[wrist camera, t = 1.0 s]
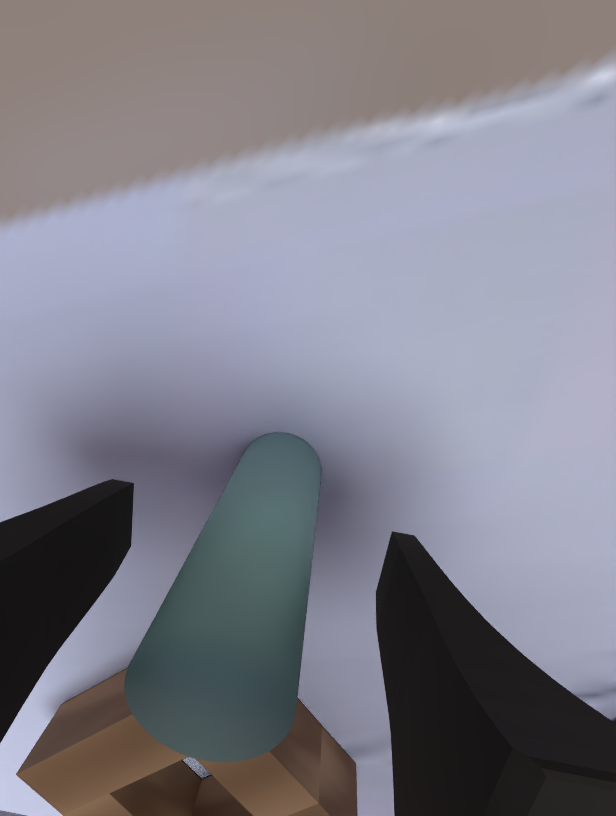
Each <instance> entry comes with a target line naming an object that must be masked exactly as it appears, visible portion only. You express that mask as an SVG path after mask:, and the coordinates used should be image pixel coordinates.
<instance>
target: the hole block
mask: <svg viewBox="0 0 616 816" xmlns="http://www.w3.org/2000/svg"><path fill="white" fill-rule="evenodd" d="M127 669H128V668H127ZM127 669H125V670H123V671H121V672H119V673H118V674H116V675H114V676H112V677H110V678H109V679H107V680H105V681H103V682H101V683H100V684H98V685H96V686H94V687H92V688H90V689H89V690H87V691H85V692H83V693H81V694H80V695H78V696H76V697H74V698H72V699H71V700H69V701H67V702H65V703H63V704H62V705H61V706H60V707H59V709H58V710H57V712H56V713H55V715H54V716H53V718H52V720H51V721H50V723H49V724H48V726H47V727H46V729H45V730H44V732H43V733H42V735H41V736H40V738H39V740H38V741H37V743H36V744H35V746H34V747H33V749H32V750H31V752H30V753H29V755H28V757H27V758H26V760H25V761H24V763H23V764H22V766H21V767H20V769H19V770H18V772H17V773H16V775H17V776H18V777H19V778H20V779H22V780H23V781H24V782H25V783H26V784H27V785H29V786H30V787H31V788H32V789H33V790H34V791H35V792H37V793H38V794H39V795H40V796H41V797H42V798H44V799H45V800H46V801H47V802H48V803H49V804H50V805H52V806H53V807H54V808H55V809H56V810H57V811H59V812H60V813H61V814H62V815H63V816H357V780H356V763H355V762H354V761H353V760H352V759H351V758H350V757H349V756H348V755H347V753H346V752H345V751H344V750H343V749H342V748H341V747H340V746H339V744H338V743H337V742H336V741H335V740H334V739H333V738H332V737H331V736H330V734H329V733H328V732H327V731H326V730H325V729H324V728H323V727H322V725H321V724H320V723H319V722H318V721H317V720H316V719H315V718H314V716H313V715H312V714H311V713H310V712H309V711H308V710H307V709H306V708H305V706H304V705H303V704H302V703H301V702H300V701H299V700H298V699H297V705H296V713H295V719H294V722H293V725H292V727H291V729H290V731H289V733H288V734H287V736H286V737H285V738H284V740H282V741H281V742H280V743H279V744H278V745H277V746H276V747H274V748H273V749H272V750H270V751H268V752H266V753H264V754H263V755H260V756H257V757H255V758H252V759H248V760H243V761H236V762H211V761H205V760H200V759H196V758H195V759H196V760H197V761H198V762H199V763H200V764H201V765H202V766H203V767H204V768H205V769H206V770H207V771H208V772H209V773H210V774H211V776H209V777H207V778H204V779H202V780H201V779H200V778H199V777H198V776H197V775H196V774H195V773H194V772H193V771H192V770H191V769H190V768H189V767H188V766H187V765H186V764H185V763H184V762H183V761H182V759H185V758H187V757H189V756H186V755H183V754H180V753H178V752H176V751H174V750H172V749H170V748H168V747H166V746H164V745H163V744H161V743H160V742H158V741H157V740H156V739H154V738H153V737H152V736H151V735H150V734H148V733H147V732H146V731H145V730H144V729H143V728H142V726H141V725H140V724H139V723H138V722H137V720H136V719H135V717H134V716H133V714H132V712H131V710H130V708H129V706H128V703H127V700H126V696H125V687H124V682H125V675H126V672H127Z"/></svg>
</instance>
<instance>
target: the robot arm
mask: <svg viewBox="0 0 616 816" xmlns="http://www.w3.org/2000/svg"><path fill="white" fill-rule="evenodd" d="M133 490H134V483H130V482H124V481H119V480H114V479H112V480H108V481H105V482H102V483H100V484H97V485H95V486H92V487H90V488H87V489H85V490H82V491H80V492H77V493H75V494H73V495H70V496H68V497H65V498H63V499H60V500H58V501H56V502H53V503H51V504H48V505H46V506H43V507H41V508H38V509H35V510H33V511H30V512H27V513H24V514H22V515H19V516H16V517H14V518H11V519H8V520H5V521H3V522H0V743H1V741H2V740H3V738H4V736H5V734H6V733H7V731H8V729H9V728H10V726H11V724H12V723H13V721H14V719H15V718H16V716H17V714H18V712H19V711H20V709H21V707H22V706H23V704H24V703H25V701H26V699H27V698H28V696H29V695H30V693H31V691H32V690H33V688H34V686H35V685H36V683H37V682H38V680H39V678H40V677H41V675H42V674H43V672H44V670H45V669H46V667H47V666H48V664H49V663H50V661H51V660H52V659H53V657H54V656H55V654H56V653H57V651H58V650H59V649H60V647H61V646H62V645H63V643H64V642H65V641H66V639H67V638H68V637H69V636H70V634H71V633H72V632H73V630H74V629H75V628H76V626H77V625H78V624H79V622H80V621H81V620H82V618H83V617H84V616H85V614H86V613H87V612H88V611H89V609H90V608H91V607H92V605H93V604H94V603H95V601H96V600H97V599H98V597H99V596H100V595H101V593H102V592H103V591H104V589H105V588H106V587H107V585H108V584H109V582H110V581H111V580H112V578H113V577H114V575H115V573H116V572H117V570H118V568H119V567H120V565H121V563H122V561H123V560H124V558H125V556H126V554H127V552H128V550H129V549H130V547H131V535H132V512H133ZM376 624H377V635H378V642H379V649H380V657H381V664H382V670H383V677H384V684H385V691H386V698H387V705H388V712H389V721H390V730H391V745H392V764H393V785H394V812H395V816H616V724H615V723H614V722H612V721H611V720H609V719H608V718H606V717H605V716H604V715H602V714H601V713H599V712H598V711H596V710H595V709H593V708H592V707H591V706H589V705H588V704H586V703H585V702H583V701H582V700H581V699H579V698H578V697H576V696H575V695H574V694H572V693H571V692H570V691H568V690H567V689H566V688H564V687H563V686H562V685H560V684H559V683H558V682H556V681H555V680H554V679H552V678H551V677H550V676H549V675H547V674H546V673H545V672H544V671H543V670H541V669H540V668H539V667H538V666H536V665H535V664H534V663H533V662H531V661H530V660H529V659H528V658H527V657H525V656H524V655H523V654H522V653H521V652H520V651H518V650H517V649H516V648H515V647H514V646H513V645H512V644H511V643H510V642H509V641H507V640H506V639H505V638H504V637H503V636H502V635H501V634H500V633H499V632H498V631H497V630H496V629H495V628H493V627H492V626H491V625H490V624H489V623H488V622H487V621H486V620H485V619H484V618H483V616H482V615H481V614H480V613H479V612H478V611H477V610H476V609H475V608H474V607H473V606H472V605H471V604H470V603H469V601H468V600H467V599H466V598H465V597H464V596H463V595H462V594H461V593H460V591H459V590H458V589H457V588H456V587H455V586H454V584H453V583H452V582H451V581H450V580H449V578H448V577H447V576H446V575H445V574H444V572H443V571H442V570H441V569H440V567H439V566H438V565H437V564H436V562H435V561H434V560H433V558H432V557H431V556H430V555H429V553H428V552H427V551H426V549H425V548H424V547H423V546H422V544H421V543H420V542H419V541H418V539H417V538H416V537H415V536H414V535H408V534H403V533H397V532H392V534H391V537H390V541H389V545H388V549H387V553H386V556H385V560H384V564H383V568H382V571H381V575H380V579H379V583H378V587H377V590H376ZM0 816H26V815H21V814H16V813H11V812H6V811H1V810H0Z"/></svg>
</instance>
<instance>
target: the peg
mask: <svg viewBox="0 0 616 816" xmlns="http://www.w3.org/2000/svg"><path fill="white" fill-rule="evenodd" d="M321 474H322V473H321V463H320V460H319V458H318V456H317V454H316V452H315V451H314V449H313V448H312V447H311V446H310V445H309V444H308V443H307V442H306V441H304V440H303V439H301V438H299V437H297V436H295V435H292V434H288V433H270V434H266V435H263V436H261V437H259V438H257V439H256V440H254V441H253V442H252V443H251V444H250V445H249V446H248V447H247V449H246V450H245V452H244V454H243V456H242V458H241V459H240V461H239V463H238V465H237V467H236V469H235V470H234V472H233V474H232V476H231V478H230V480H229V482H228V483H227V485H226V487H225V489H224V491H223V493H222V494H221V496H220V498H219V500H218V502H217V504H216V506H215V507H214V509H213V511H212V513H211V515H210V517H209V518H208V520H207V522H206V524H205V526H204V528H203V530H202V531H201V533H200V535H199V537H198V539H197V541H196V542H195V544H194V546H193V548H192V550H191V552H190V553H189V555H188V557H187V559H186V561H185V563H184V565H183V566H182V568H181V570H180V572H179V574H178V576H177V577H176V579H175V581H174V583H173V585H172V587H171V589H170V590H169V592H168V594H167V596H166V598H165V600H164V601H163V603H162V605H161V607H160V609H159V611H158V612H157V614H156V616H155V618H154V620H153V622H152V624H151V625H150V627H149V629H148V631H147V633H146V635H145V636H144V638H143V640H142V642H141V644H140V646H139V648H138V649H137V651H136V653H135V655H134V657H133V659H132V660H131V662H130V664H129V666H128V669H127V672H126V675H125V682H124V687H125V696H126V700H127V703H128V706H129V708H130V710H131V712H132V714H133V716H134V717H135V719H136V720H137V722H138V723H139V724H140V725H141V726H142V728H143V729H144V730H145V731H146V732H147V733H148V734H150V735H151V736H152V737H153V738H154V739H156V740H157V741H158V742H160V743H161V744H163V745H164V746H166V747H168V748H170V749H172V750H174V751H176V752H178V753H180V754H183V755H186V756H189V757H192V758H196V759H200V760H205V761H211V762H236V761H243V760H248V759H252V758H255V757H257V756H260V755H263V754H264V753H266V752H268V751H270V750H272V749H273V748H274V747H276V746H277V745H278V744H279V743H280V742H281V741H282V740H284V738H285V737H286V736H287V734H288V733H289V731H290V729H291V727H292V725H293V722H294V719H295V713H296V705H297V695H298V686H299V677H300V668H301V658H302V649H303V640H304V631H305V621H306V612H307V603H308V594H309V584H310V575H311V566H312V557H313V547H314V538H315V529H316V520H317V511H318V501H319V492H320V483H321Z"/></svg>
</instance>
